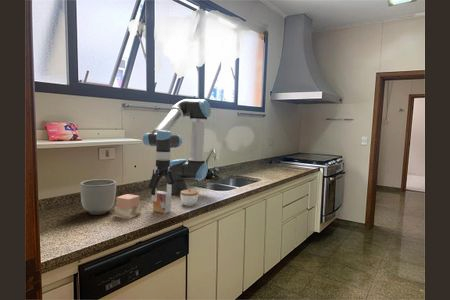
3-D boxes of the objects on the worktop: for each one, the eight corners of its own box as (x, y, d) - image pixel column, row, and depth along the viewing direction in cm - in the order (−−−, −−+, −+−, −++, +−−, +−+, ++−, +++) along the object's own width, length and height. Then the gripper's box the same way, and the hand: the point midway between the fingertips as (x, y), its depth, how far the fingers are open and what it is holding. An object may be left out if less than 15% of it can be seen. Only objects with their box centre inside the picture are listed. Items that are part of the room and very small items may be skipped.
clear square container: (127, 211, 151) (127, 202, 151) (140, 214, 148) (140, 205, 147) (114, 216, 143) (114, 207, 142) (128, 219, 139) (128, 209, 139)
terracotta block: (127, 203, 150) (127, 193, 150) (139, 205, 147) (139, 195, 147) (116, 206, 143) (116, 197, 142) (128, 209, 140) (128, 199, 139)
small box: (152, 211, 153) (153, 192, 152) (158, 208, 158) (159, 190, 157) (165, 213, 150) (165, 194, 149) (171, 210, 155) (171, 192, 154)
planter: (94, 220, 136) (94, 187, 134) (72, 213, 144) (72, 182, 143) (123, 211, 151) (123, 181, 149) (102, 205, 159) (102, 177, 158)
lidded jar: (176, 205, 166) (176, 189, 165) (185, 201, 176) (186, 186, 175) (192, 207, 162) (193, 191, 161) (201, 203, 172) (201, 188, 171)
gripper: (170, 157, 164) (169, 193, 166) (142, 160, 141) (141, 202, 143) (181, 158, 161) (180, 194, 163) (154, 162, 138) (153, 204, 140)
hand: (161, 198), depth 153 cm, fingers open, 13 cm apart
